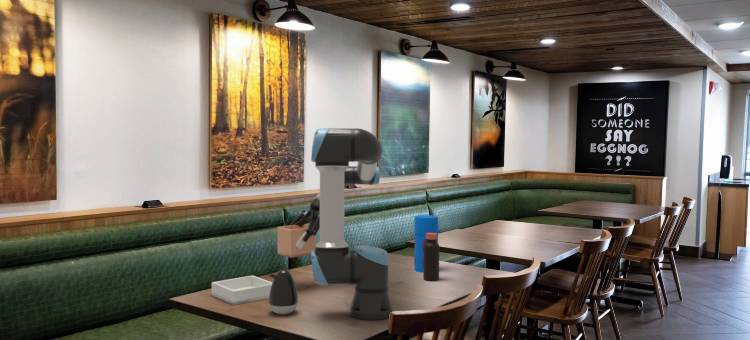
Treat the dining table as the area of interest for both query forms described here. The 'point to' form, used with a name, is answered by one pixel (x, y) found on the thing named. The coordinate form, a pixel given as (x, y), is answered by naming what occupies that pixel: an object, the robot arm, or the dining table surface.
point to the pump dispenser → (283, 293)
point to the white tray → (241, 289)
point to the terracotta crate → (294, 241)
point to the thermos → (423, 237)
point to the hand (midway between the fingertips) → (290, 245)
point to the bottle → (431, 258)
